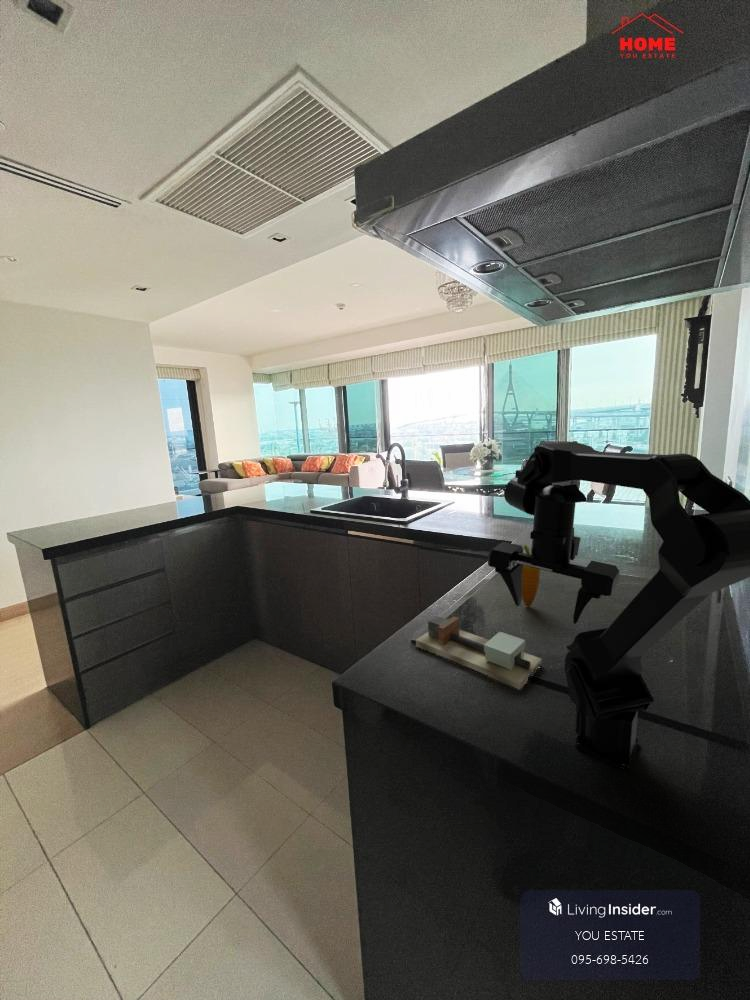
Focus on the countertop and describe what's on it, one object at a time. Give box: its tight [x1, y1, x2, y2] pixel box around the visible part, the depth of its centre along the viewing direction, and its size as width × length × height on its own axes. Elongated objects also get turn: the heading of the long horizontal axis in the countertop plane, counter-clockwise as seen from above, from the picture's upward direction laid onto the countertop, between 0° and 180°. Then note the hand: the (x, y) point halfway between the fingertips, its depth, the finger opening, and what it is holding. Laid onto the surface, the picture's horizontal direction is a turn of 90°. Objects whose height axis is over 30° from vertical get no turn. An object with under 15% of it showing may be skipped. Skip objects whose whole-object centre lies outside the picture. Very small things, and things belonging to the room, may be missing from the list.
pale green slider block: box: [484, 631, 526, 670], centre depth 75 cm, size 5×6×3 cm
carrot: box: [521, 544, 541, 607], centre depth 97 cm, size 5×5×15 cm
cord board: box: [415, 615, 543, 690], centre depth 79 cm, size 22×9×5 cm, turn 46°
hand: (545, 613), depth 68 cm, fingers open, 9 cm apart
